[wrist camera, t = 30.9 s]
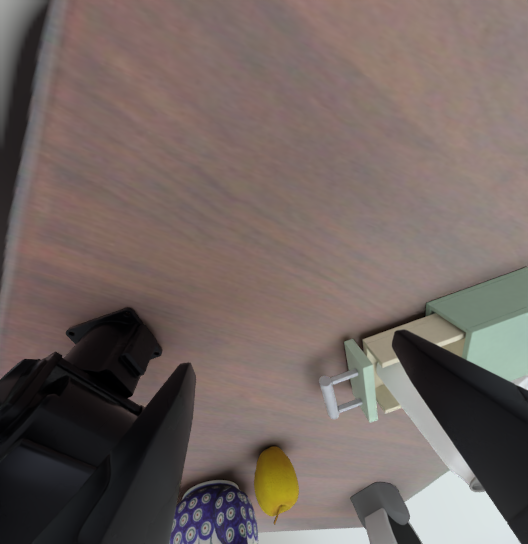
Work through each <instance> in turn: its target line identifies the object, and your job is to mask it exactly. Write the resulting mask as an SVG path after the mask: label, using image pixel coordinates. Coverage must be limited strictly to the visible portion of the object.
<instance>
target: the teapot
mask: <svg viewBox="0 0 528 544" xmlns="http://www.w3.org/2000/svg"><path fill="white" fill-rule="evenodd" d="M169 544H258V530H257V523H256V517H255V513H254V509H253V506H252V504H251V501H250V500H249V498H248V496H247V495H246V494H245V493H244V492H242V491H240V490H239V487H238V485H237V484H235V483H234V482H231V481H226V480H213V481H207V482H203V483H200V484H198V485H196V486H194V487H192V488H190V489H189V490H188V491H187V492H186V493H185V494H184V496H183V499H182V501H180V502H179V503H178V504H177V506H176V511H175V516H174V521H173V527H172V532H171V537H170V542H169Z"/></svg>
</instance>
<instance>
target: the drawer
mask: <svg viewBox="0 0 528 544" xmlns="http://www.w3.org/2000/svg"><path fill="white" fill-rule="evenodd" d="M402 329H405V330H408V331H410V332H412V333H414V334H416V335H418V336H420V337H422V338H424V339H426V340H428V341H430V342H432V343H434V344H436V345H438V346H440V347H442V348H444V349H446V350H448V351H450V352H452V353H454V354H456V355H458V356H460V357H462V353H463V348H464V343H465V337H466V332H464V331H463V330H461V329H460V328H458V327H457V326H455V325H454V324H452V323H451V322H449V321H447V320H446V319H444V318H443V317H441V316H440V315H438V314H437V313H435V314H432V315H429V316H426V317H424V318H421V319H418V320H415V321H412V322H410V323H407V324H404V325H401V326H399V327H396V328H393V329H390V330H387V331H385V332H382V333H379V334H376V335H374V336H371V337H368V338H365V339H363V349H364V353H363V351H362V350H361V349H360V347H359V346H358V345H357V344H356V342H355V341H354V340H353V339H350V340H348V341H345V342H344V345H345V351H346V357H347V363H348V368H349V371H348V372H345V373H342V374H339V375H337V376H334V377H331V378H329V377H328V376H322V377H321V378H320V379H319V383H320V387H321V390H322V394H323V398H324V401H325V405H326V408H327V412H328V415H329V417H330V418H332V419H337V418H338V416H339V413H341V412H344V411H346V410H349V409H352V408H354V407H357V406H360V407H361V409H362V411H363V412H364V414H365V416H366V418H367V419H368V421H369V422H373V421H376V420H378V416H377V404H376V401H377V402H378V404H379V405H380V407H381V408H382V410H383V411H384V413H385V414H386V413H389V412H392V411H395V410H397V409H400V408H402V407H401V405H400V404H399V403H398V401H397V400H396V399H395V397H394V396H393V395H392V393H391V392H390V391H389V389H388V388H387V387H386V386H385V384H384V383H383V381H382V380H381V379H380V377H379V376H378V374H377V372H376V364H377V362H378V363H379V364H380V365H381V366H382V368H384V367H387V366H389V365H392V364H395V363H398V362H400V361H399V359H398V358H397V356H396V354H395V352H394V350H393V348H392V340H393V336H394V332H395V331H396V330H402ZM348 379H350V380H351V386H352V392H353V395H354V397H355V399H356V400H353V401H350V402H348V403H345V404H342V405H339V406H337V403H336V399H335V394H334V390H333V386H332V384H333V385H334V384H337V383H339V382H342V381H345V380H348Z"/></svg>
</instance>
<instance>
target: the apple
mask: <svg viewBox="0 0 528 544" xmlns="http://www.w3.org/2000/svg"><path fill="white" fill-rule="evenodd" d="M254 488H255V494H256V497H257V501H258V503H259V505H260V507H261V509H262V510H263V511H264V512H265V513H266V514H267V515H269V516H276V515H277V516H276V518H275V520H274V525H275V523H276V520H277V517H278V515H279V514H280V513H282V512H285V511H287V510H289V509H290V508H291V507H292V506H293V505H294V504H295V503H296V501H297V499H298V494H299V486H298V481H297V477H296V473H295V470H294V468H293V465H292V463H291V462H290V460H289V458H288V457H287V456H286V455H285V453H284V452H283V451H282V450H281V449H280V448H279V447H277V446H275V447H270V448H268V449H266V450H264V451H263V452H262V453H261V454H260V456H259V458H258V461H257V466H256V472H255V478H254Z"/></svg>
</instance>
